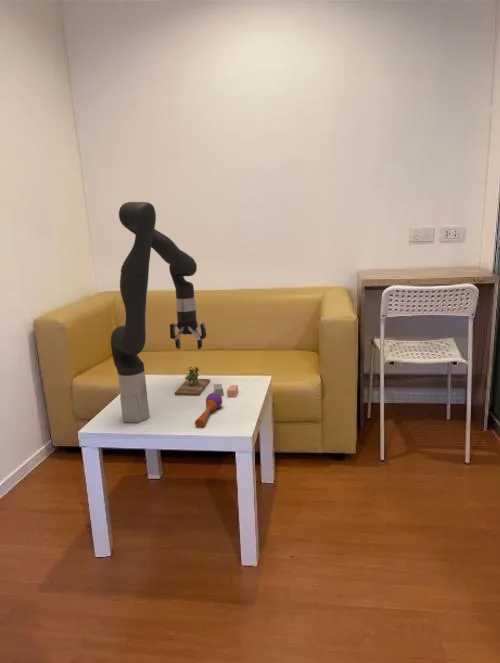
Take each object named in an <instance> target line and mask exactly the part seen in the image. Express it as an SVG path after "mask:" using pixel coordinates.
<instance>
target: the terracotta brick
mask: <svg viewBox="0 0 500 663" xmlns="http://www.w3.org/2000/svg"><path fill="white" fill-rule="evenodd" d="M238 393H239V385H238V384H230V385H229V387H228V388H227V390H226V395H227V398H233V399H234V398H236V396H237V395H238Z"/></svg>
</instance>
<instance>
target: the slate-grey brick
mask: <svg viewBox="0 0 500 663" xmlns="http://www.w3.org/2000/svg"><path fill="white" fill-rule="evenodd" d="M222 385H223V384H222V383H216V384H213V388H214V389H213V390H214V391H213V393H218V394H219V395H220V396H221V397H223V396H224V388H223V386H222Z"/></svg>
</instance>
